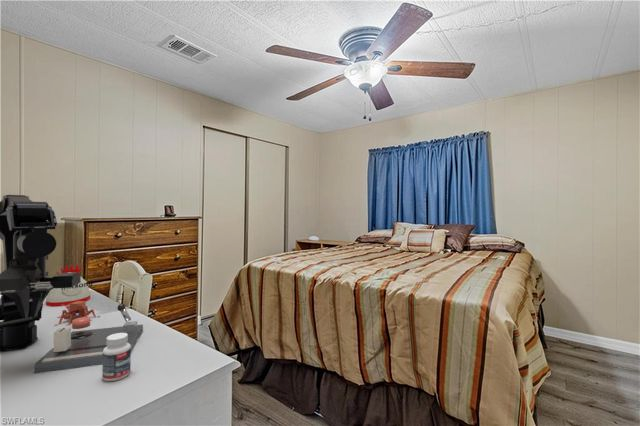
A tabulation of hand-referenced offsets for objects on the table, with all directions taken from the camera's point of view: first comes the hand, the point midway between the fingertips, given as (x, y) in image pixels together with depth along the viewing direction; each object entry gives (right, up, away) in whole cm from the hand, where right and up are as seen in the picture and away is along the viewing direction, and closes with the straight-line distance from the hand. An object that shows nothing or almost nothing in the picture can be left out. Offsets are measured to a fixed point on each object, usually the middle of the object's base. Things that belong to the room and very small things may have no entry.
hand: (29, 317), depth 74 cm
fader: (+6, -9, +2) cm, 11 cm away
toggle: (+14, -6, +16) cm, 22 cm away
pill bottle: (+25, -12, -5) cm, 28 cm away
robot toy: (-14, -11, +31) cm, 36 cm away
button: (+3, -6, +12) cm, 14 cm away
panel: (+10, -11, +8) cm, 17 cm away
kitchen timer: (-32, -11, +50) cm, 61 cm away
